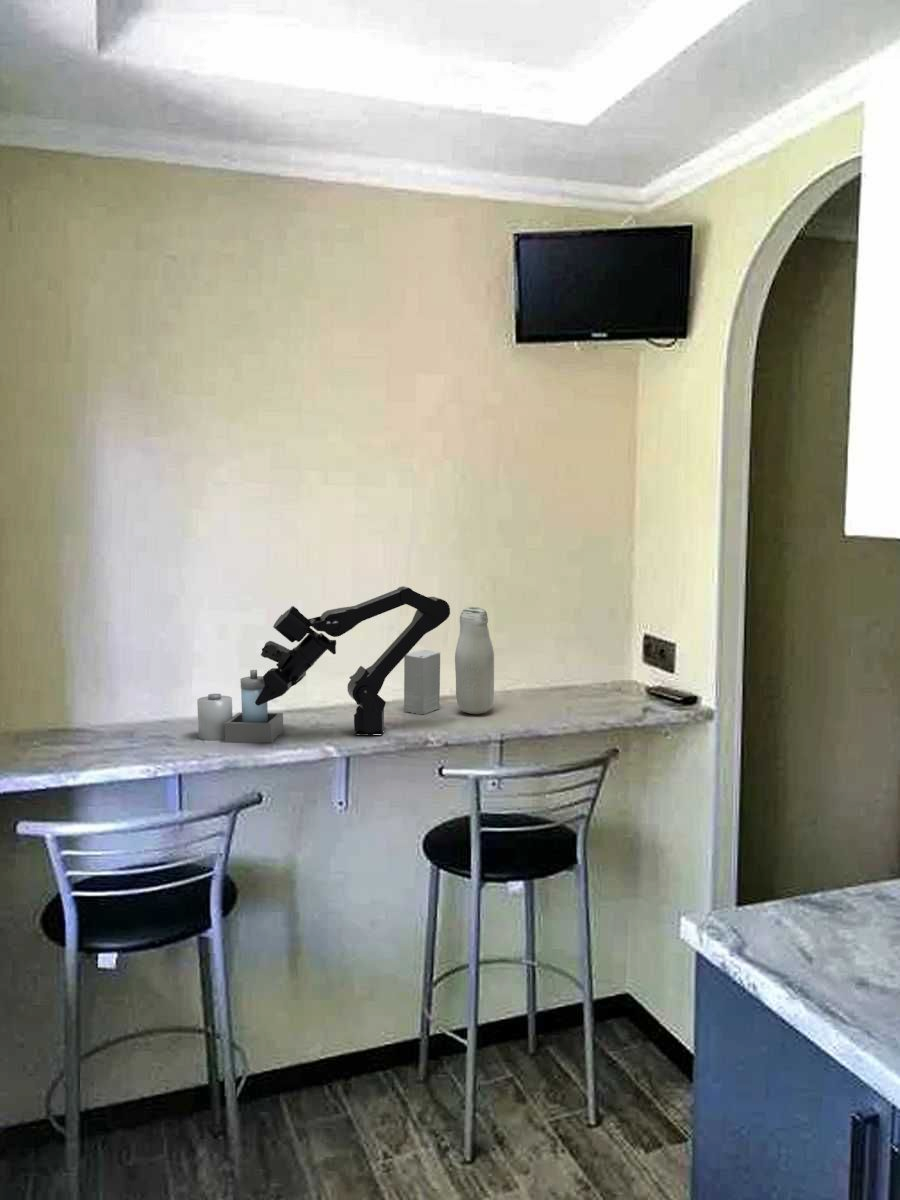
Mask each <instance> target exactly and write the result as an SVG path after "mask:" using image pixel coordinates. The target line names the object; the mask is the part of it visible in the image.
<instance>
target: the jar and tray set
mask: <svg viewBox="0 0 900 1200" xmlns="http://www.w3.org/2000/svg"><path fill="white" fill-rule="evenodd" d="M197 725H198V726H197V729H198V733H197V734H198V739H200V740H202V739H204V740H203V741H220V739H222V740H224V742H225V743H248V742H272V741H273V740H274V739H275V738H276V737H277V736H278V735H279V734H280V735H281V734H282V733H283V732H284V713H282V712H268V723H247V722H242V712H238V713H236V714H234V715H233V697H232V696H228V695H222V694H221V693H210V694H208V695H207V696H202V697H199V698H198V699H197ZM280 735H279V736H280ZM279 736H278V737H279ZM278 737H277V738H278ZM277 738H276V739H277ZM276 739H275V740H276ZM275 740H274V741H275ZM274 741H273V742H274ZM273 742H272V743H273Z"/></svg>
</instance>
